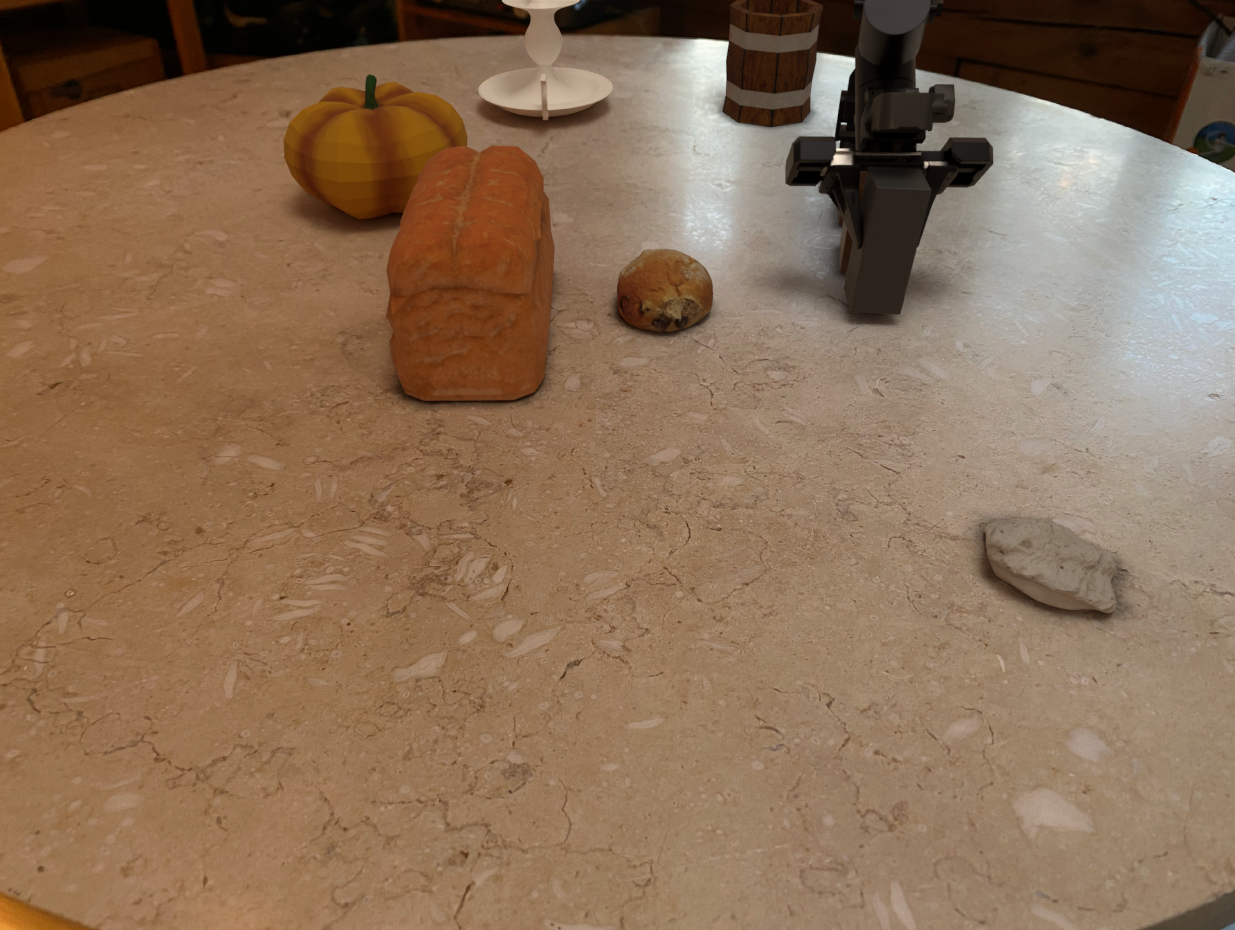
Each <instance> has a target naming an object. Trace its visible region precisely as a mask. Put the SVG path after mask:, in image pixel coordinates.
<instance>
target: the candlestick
mask: <svg viewBox="0 0 1235 930" xmlns="http://www.w3.org/2000/svg"><path fill="white" fill-rule="evenodd" d="M580 1H581V0H501V2H502V3H503V4H504V5H507V6H510V7H513V8H517V9H520V10H524V11H526V12H527V13H528V14H529V16H530V22H529V25H528V27H527V29H526V31H525V34H524V40H523V43H524V47H525V50H526V52H527V54H528V57H530V59H531V60H532V61H533V62H534V63H536V67H528V68H527V67H526V68H520V69H514V70H508V71H505V72H502V73H498V74H495V75H493V76H490V77H489V78H487V79H485V80H484V81H483V82H482V83H480V85H478V89H477V92H478V95H479V96H480V97H481V98H482V99H483V100H485V101H486V102H488V103H490V104H493V105H496V106H497V107H499V108H500V109H502V110H504V111H507V112H510V113H514V115H519V116H524V117H535V118H542V121H548V120H549V118H550V117H563V116H568V115H572V114H576V113H578V112H582V111H585V110H586V109H589V108H590V107H592V106H594V105H595V104H596V103H597V102H600V101H601V100H604V99H605V98H607V97H608V96H610V94H611V93H612V92H613V90H614V85H613V83H612V82H611V80H610V79H608V78H607V77H605V76H603V75H602V74H600V73H599V74H598V73H596V72H593V71H589V70H585V69H580V68H573V67H562V66H561V67H560V66H559V67H558V66H555V67H553V63H554V62H555V61H556V60H557V59H558V57H559V55H560V54H561V51H562V48H563V41H564V40H563V35H562V33H561V31H560V29H559V27H558V25H557V23H556V21H555V13H556V12H557V11H558V10H561V9H563V8H567V7H570V6H573V5H575V4H577V3H579V2H580Z"/></svg>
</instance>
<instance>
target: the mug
mask: <svg viewBox="0 0 1235 930" xmlns="http://www.w3.org/2000/svg"><path fill="white" fill-rule="evenodd" d="M728 8H729V35H728V44H727V52H726V57H725V75H726V76H725V78H726V79H725V80H726V81H725V96H724V101H723V106H722V113H723V114H725V115H726V116H728V117H729V118H731V119H732V120H734V121H735V122H737V123H739V124H740V123H741V124H746V125H747V124H748V125H754V126H762V127H767V128H773V127H780V126H788V125H794V124H801V123H803V122H804V120H805V119H806V118H807V117H808V116H809V114H810V113H811V107H812V106H811V105H812V104H811V102H812V101H811V99H812V98H811V96H812V87H813V79H814V75H815V69H816V66H817V65H816V64H817V58H818V57H817V55H818V37H819V29H820V22H821V17H822V14H823V10H824V5H823V4H821V3H819V2H816V1H813V0H735V1H733V2H732V3H731V4H730V5H728Z"/></svg>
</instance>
